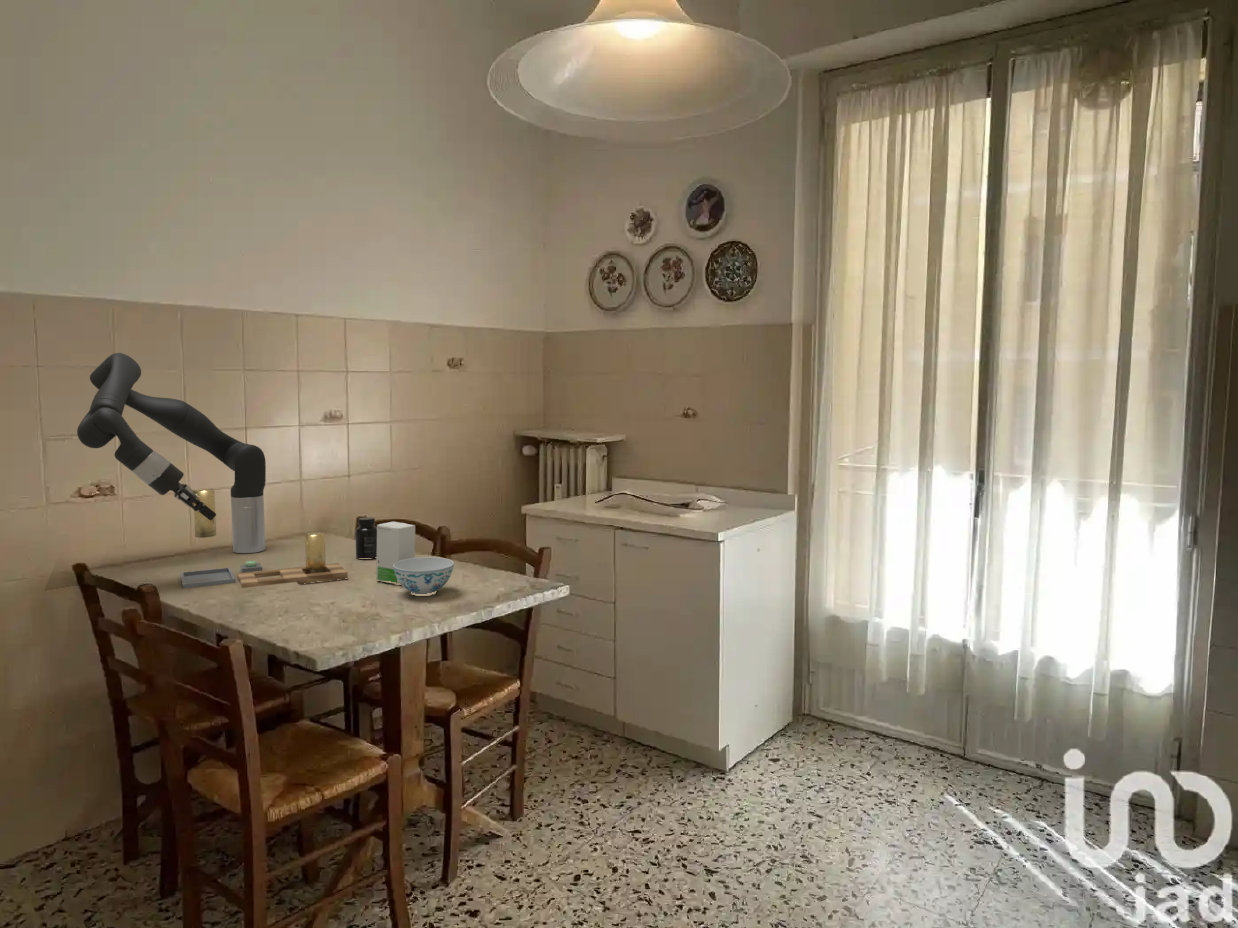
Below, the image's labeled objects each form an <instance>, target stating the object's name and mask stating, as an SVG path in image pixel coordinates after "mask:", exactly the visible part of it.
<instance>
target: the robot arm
mask: <svg viewBox="0 0 1238 928" xmlns="http://www.w3.org/2000/svg"><path fill="white" fill-rule="evenodd" d="M141 376H142V369H141V366H140V365H139V363H138V362H137V361H136V360H135V359H134V358H132V357H131V356H129V355H127V354H126V353H123V352H115V353H114V352H113V353H112V354H110V355H109V356H107V358H105V359H104V360H103V361H102V362H101V363H100V364H99V365H98V366H97V367H96V368H95V369H94V370H93V371H92V373H91V374H90V375H89V380H90V383H91V384H92V385H93V386H94V387H95V388H96V389H97V390H98V391H96V393H95V395H94V397H93V399H92V401H91V404H90V406H89V407H90V408H89V411H88V412H87V413H86V415H84V417H83V419H82V420H81V421H80V423H79V424H78V426H77V429H76V435H77V438H78V440H79V441H80V442H81V444H83V446H85V447H86V448H87V447H88V448H89V449H90V448H91V449H99V448H103V447H104V446H105V447H106V445H107V444H109V442H111V441H112V440H113V439H114V438H115V437H117V439H118V440H119V446H118V447H117V449H116V450H115V452H114V458H115V459H116V460H117V461H118V462H120V463H121V464H122V465H123V466H125V467H126V468H127V469H128V470H130V471H132V473H133V474H134V475H135V476H136V477H138V479H140V480H141V481H142V482H143V483H144V484H147V486H148V487H150V488H151V489H152V490H154V491H155V492H156V493H158V494H159V495H161V496H164V495H166V494H167V493H169V492H170V491H172V492H173V493H174V494H173V496H174V498H175V499H177V500H179V501H181V502H182V503H183V504H184V505H185V506H187V507H190V508H191V509H192V510H193V512H194V511H198V512H200V513H201V514H202V515H204V516H205V517H206V518H208V519H209V520H212V519H213V518H214V517H215V518H216V517H217V513H216V511H215V512H213V511H212V510H211V509H210V508H208V507H207V506H206V505H205V503H203V502H201V501H200V500H199V496H197V495H196V494H195V493H194V492H193V489H191V487H190V485H188V484H187V483H180V481H181V480H182V479H183V477H185V473H184V472H183V471H182V470H180V469H179V468H178V467H176V466H175V465H174V464H173V463H172V462H171V461H170V460H168V459H166V457H164V456H163V455H161V454H160V453H158V452H156V451H155V450H153V449H152V448H151V447H150V446H148V445H147V444H146V443H145V442H143V441H142V440H141V439H140V437H138V435H137V434H136V433H135V431H134V430H133V429H132V428H131V427H130V425H129V424H128V423H127V421H126V420H125V418H124V417H123V412H124V410H125V409H124V408H125V407H126V406H127V407H129V408H131V409H133V410H135V411H137V412H139V413H141V414H142V415H144V416H146V417H147V418H149V419H151V420H152V421H154V422H156V423H157V424H159V425H160V426H161V427H163V428H164V429H166V430H168V431H170V432H171V433H173V434H174V435H175V436H178V437H180V438H181V439H182V440H185V441H186V442H188V443H189V444H190V443H191V444H192V445H194V446H196V447H198V448H200V449H203V450H204V451H206V452H208V453H210V454H211V455H212V456H213V457H215V458H216V459H218V461H220V462H221V463H222V464H224V465H225V466H227V468H228V469H230V470H232V471H233V472H234V483H233V485H232V486H231V488H230V507H231V531H232V552H233V553H235V554H236V553H237V554H253V553H259V552H263V551H265V550H266V530H265V529H266V527H265V526H266V524H265V501H264V497H265V496H264V490H265V486H266V482H267V481H266V480H267V479H266V472H267V471H266V469H267V467H266V456H265V453H264V451H263V450H262V448H261V447H259V446H257V445H255V444H249V443H245V442H242V441H240V440H237V439H236V438H234V437H232V436H231V435H228V434H226V433H225V432H223V431H222V430H221V429H220V428H218V427H217V425H216V424H215V423H214V422H213V421H212V420H210V418H209V417H208V416H206V415H205V414H204V413H202V412H201V411H200V410H198V409H197V408H195V407H193V406H192V405H190V404H189V403H188V402H186V401H183V400H180V399H176V398H171V397H170V398H169V397H160V396H159V397H157V396H151V395H146V394H143V393H141V392H138V391H136V390H134V389H133V386H134V385H135V384H136V382H138V381H139V379H140V377H141ZM193 495H194V496H193ZM196 501H197V502H198V504H197V505H196V506H194V505H193V504H194V503H195V502H196Z"/></svg>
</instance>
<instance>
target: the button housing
mask: <svg viewBox="0 0 1238 928" xmlns="http://www.w3.org/2000/svg"><path fill="white" fill-rule="evenodd" d="M239 566H240V567H239V570H240V573H245V572H255V571H263V566H262V564H261V563H260V562H259V563H257V566H255V567H246V565H245V564H240V565H239Z"/></svg>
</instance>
